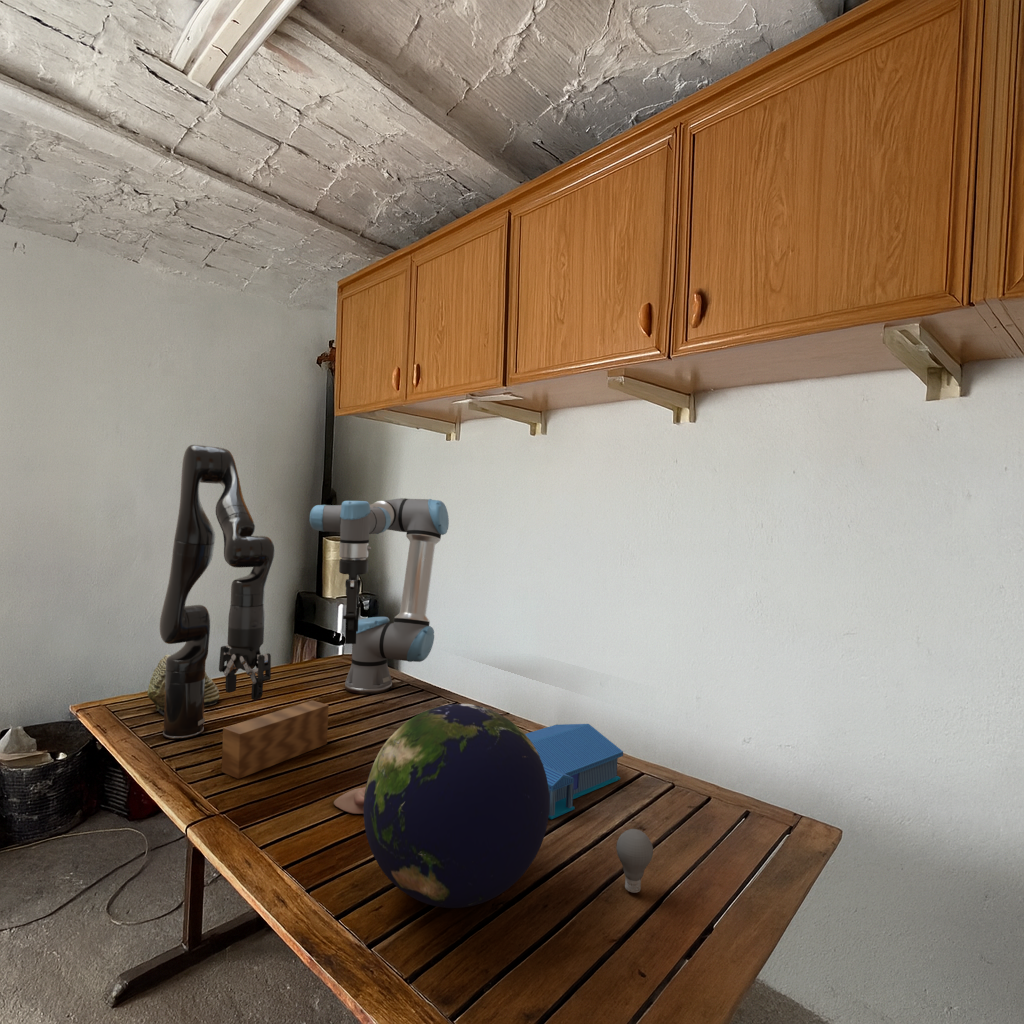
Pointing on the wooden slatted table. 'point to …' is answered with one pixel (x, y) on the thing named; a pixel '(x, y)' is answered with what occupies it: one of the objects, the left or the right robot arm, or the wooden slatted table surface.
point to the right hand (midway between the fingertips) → (351, 637)
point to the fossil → (158, 687)
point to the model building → (574, 762)
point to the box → (273, 738)
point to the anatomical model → (352, 801)
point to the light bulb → (634, 857)
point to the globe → (456, 806)
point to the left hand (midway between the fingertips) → (243, 695)
